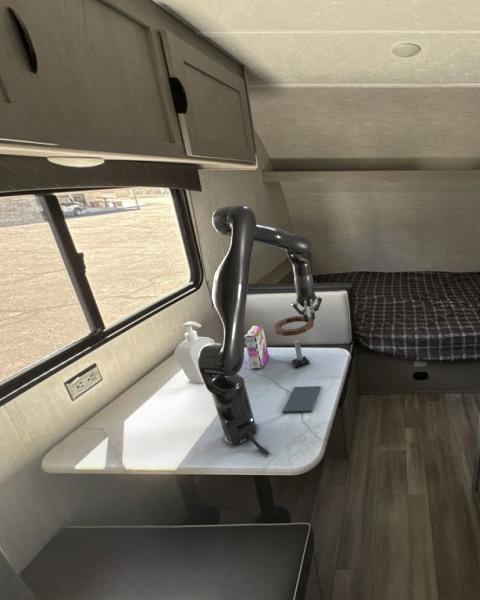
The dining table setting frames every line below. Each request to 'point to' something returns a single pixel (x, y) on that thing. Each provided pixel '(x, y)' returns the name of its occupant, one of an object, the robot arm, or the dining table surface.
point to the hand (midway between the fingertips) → (309, 320)
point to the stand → (299, 356)
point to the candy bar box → (256, 346)
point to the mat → (302, 399)
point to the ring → (293, 331)
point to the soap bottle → (191, 352)
